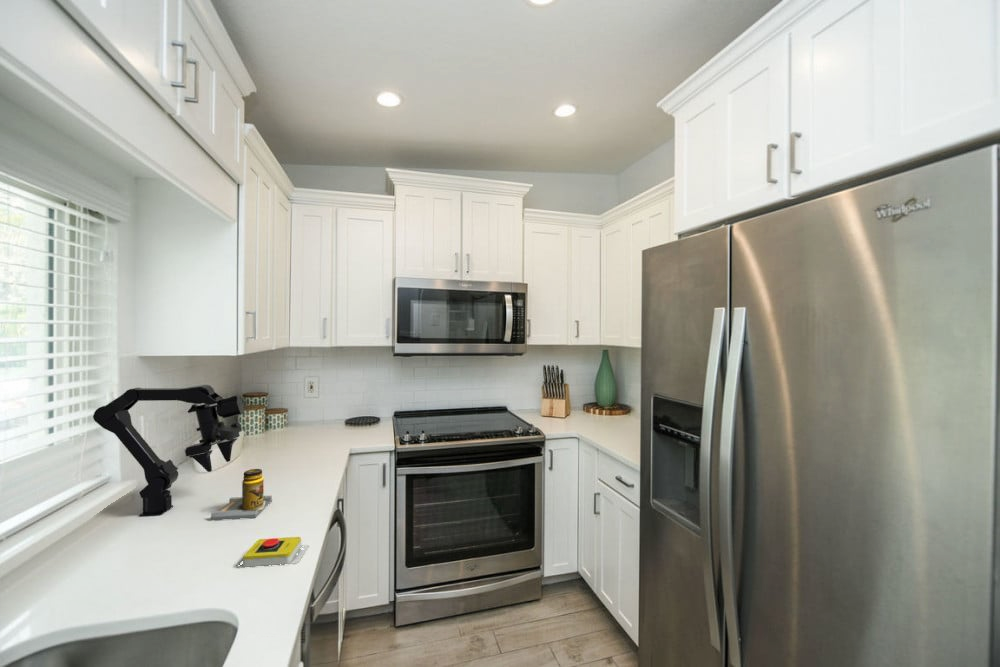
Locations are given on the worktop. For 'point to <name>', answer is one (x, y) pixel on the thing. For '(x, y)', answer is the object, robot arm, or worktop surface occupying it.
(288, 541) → the emergency button
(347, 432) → the worktop surface
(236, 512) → the guide rails
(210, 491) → the worktop surface
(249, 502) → the condiment
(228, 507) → the mounting plate
